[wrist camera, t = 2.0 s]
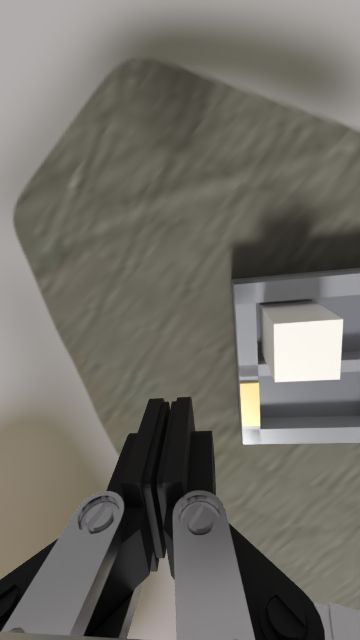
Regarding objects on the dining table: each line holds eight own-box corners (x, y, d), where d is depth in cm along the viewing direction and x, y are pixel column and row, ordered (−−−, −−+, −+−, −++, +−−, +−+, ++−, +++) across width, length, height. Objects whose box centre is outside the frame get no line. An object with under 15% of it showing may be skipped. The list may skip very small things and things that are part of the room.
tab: (312, 348, 22) (339, 379, 18) (261, 352, 23) (274, 382, 18) (313, 300, 21) (343, 319, 17) (260, 304, 22) (273, 324, 17)
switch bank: (423, 419, 25) (450, 443, 22) (239, 424, 27) (243, 445, 24) (448, 259, 21) (485, 262, 18) (231, 279, 23) (234, 285, 20)
